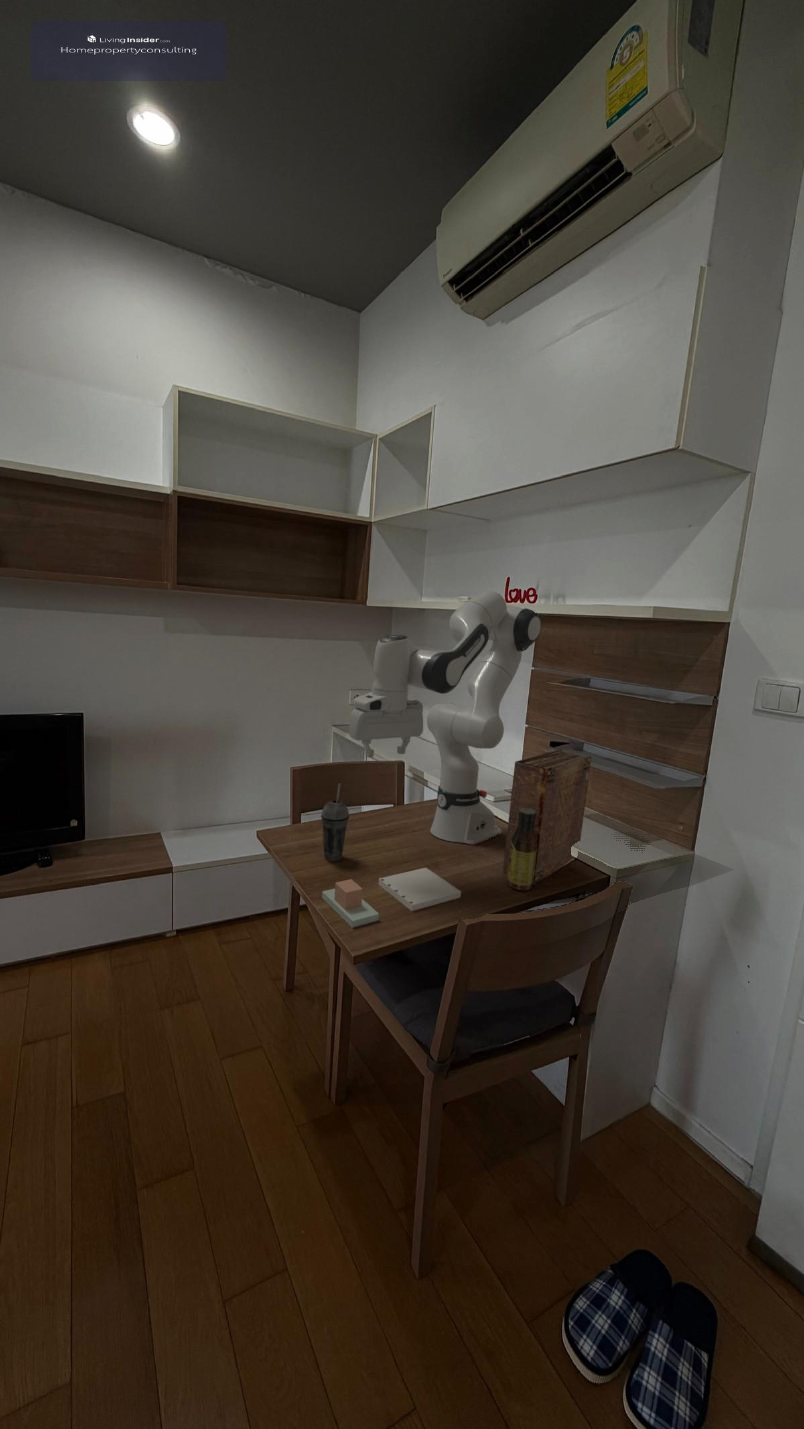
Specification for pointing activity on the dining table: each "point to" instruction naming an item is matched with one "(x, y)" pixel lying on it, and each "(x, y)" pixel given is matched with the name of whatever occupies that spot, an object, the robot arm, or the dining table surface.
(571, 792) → the book
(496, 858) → the dining table surface
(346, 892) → the green slab pink block
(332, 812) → the beverage cup
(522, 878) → the sauce bottle
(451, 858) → the dining table surface
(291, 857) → the dining table surface
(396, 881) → the board
